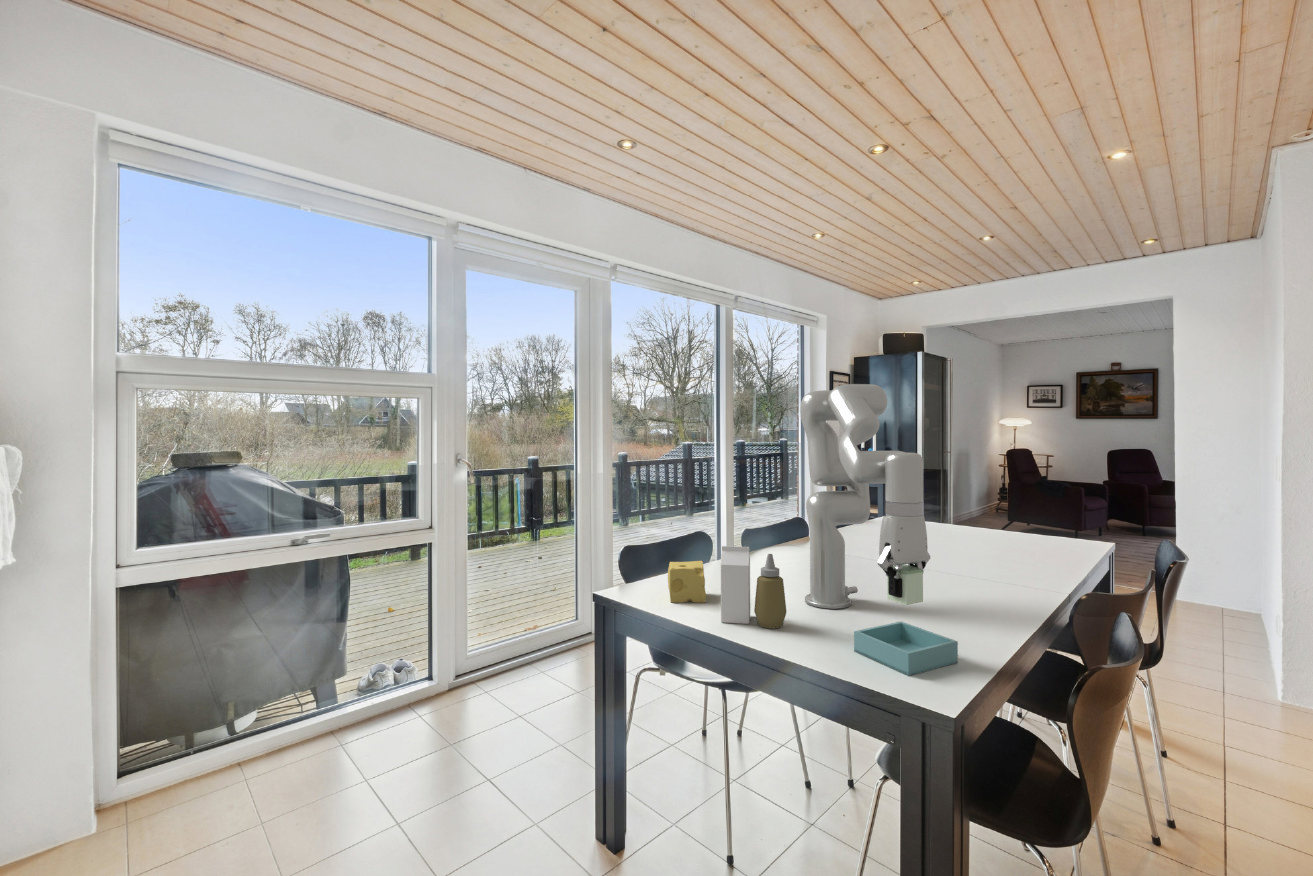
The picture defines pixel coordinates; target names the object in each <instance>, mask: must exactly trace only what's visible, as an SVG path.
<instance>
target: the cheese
mask: <svg viewBox="0 0 1313 876" xmlns="http://www.w3.org/2000/svg"><path fill="white" fill-rule="evenodd" d="M667 569H668V570H667V584H668V585H667V586H668V591H669V599H670V600H669V601H670V603H673V604H675V603H687V602H691V603H693V604H694V603H695V604H697V603H698V604H701V603H702V604H703V603H704V604H705V603H706V599H707V593H706V579H705V570H704V569H705V568H704V562H703V561H702V560H694V561H669V564H668V568H667Z"/></svg>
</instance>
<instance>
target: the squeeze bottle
mask: <svg viewBox="0 0 1313 876" xmlns="http://www.w3.org/2000/svg"><path fill="white" fill-rule="evenodd" d="M755 586H756V589H755V600H754V610H753V611H754V615H755V618H756V621H757V624H758V625H759V626H760V627H761V628H764V629H779V628H781V627H783V625H784V622H785V618H786V615H787V603H786V595H785V594H786V593H785V585H784V578H782V577H781V576H780V568H779V567H776V565H775V560H774V556H773V554H772V553H768V554H767V557H766V560H765V566H762V567H760V576H758V577H757V579H756V585H755Z"/></svg>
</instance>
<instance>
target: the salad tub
mask: <svg viewBox="0 0 1313 876" xmlns="http://www.w3.org/2000/svg"><path fill="white" fill-rule="evenodd" d="M895 568H896V566H894V565H893V569H894V570H895ZM924 569H925V568H924ZM924 569H921V568H917V567H913V566H908V564H903V565H902V569H901V574H900V579H902V597H901V598H898V597H895V596H892V595H889V593H888V577H887V576H886V577H887V579H886V580H887V582H886V583H887V587H886V588H887V593H886V595H887V600H890V601H891V602H896V603H899V604H903V605H905V606H909V605H914V604H918V603H923V602H924V571H925V570H924Z"/></svg>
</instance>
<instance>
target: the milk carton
mask: <svg viewBox="0 0 1313 876" xmlns="http://www.w3.org/2000/svg"><path fill="white" fill-rule="evenodd" d="M750 556H751V555H750V546H732V545H731V546H728V545H722V546H721V555H720V622H721V623H729V624H730V623H731V624H745V625H746V624H747V625H749V624H750V620H751V557H750Z"/></svg>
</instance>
